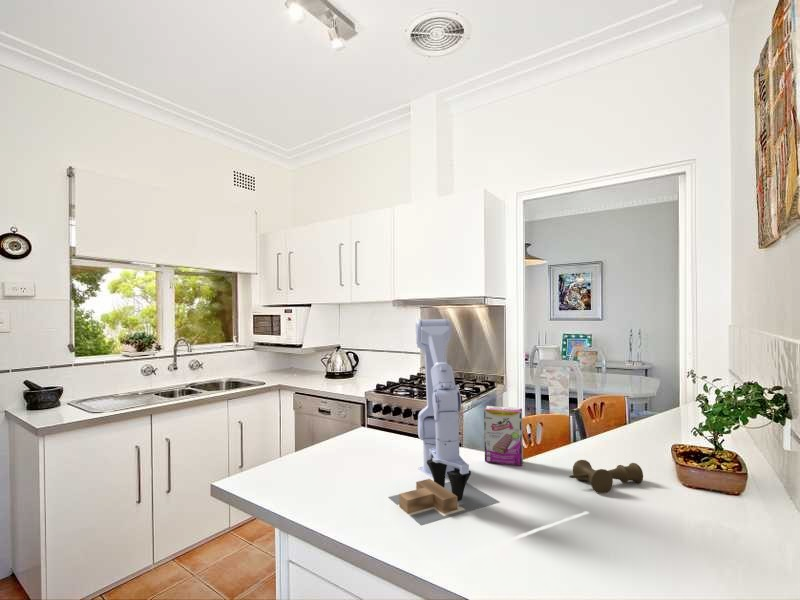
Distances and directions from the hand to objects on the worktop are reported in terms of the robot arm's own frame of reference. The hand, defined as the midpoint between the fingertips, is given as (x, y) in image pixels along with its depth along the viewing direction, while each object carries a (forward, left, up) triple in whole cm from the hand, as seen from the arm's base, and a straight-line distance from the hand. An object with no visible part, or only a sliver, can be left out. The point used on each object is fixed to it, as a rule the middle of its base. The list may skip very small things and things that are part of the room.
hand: (448, 494), depth 103 cm
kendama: (-40, +13, -2) cm, 43 cm away
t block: (+7, 0, -1) cm, 7 cm away
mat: (+2, 0, -1) cm, 2 cm away
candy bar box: (-29, -13, -2) cm, 32 cm away
